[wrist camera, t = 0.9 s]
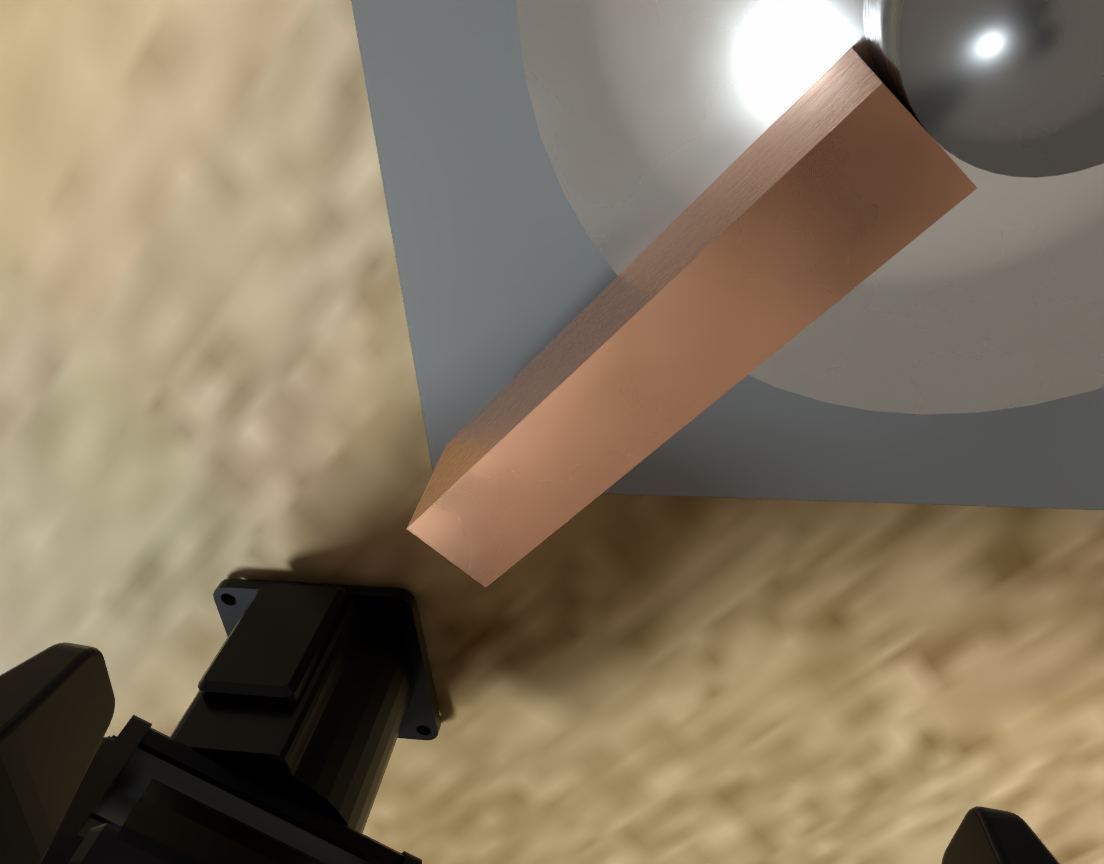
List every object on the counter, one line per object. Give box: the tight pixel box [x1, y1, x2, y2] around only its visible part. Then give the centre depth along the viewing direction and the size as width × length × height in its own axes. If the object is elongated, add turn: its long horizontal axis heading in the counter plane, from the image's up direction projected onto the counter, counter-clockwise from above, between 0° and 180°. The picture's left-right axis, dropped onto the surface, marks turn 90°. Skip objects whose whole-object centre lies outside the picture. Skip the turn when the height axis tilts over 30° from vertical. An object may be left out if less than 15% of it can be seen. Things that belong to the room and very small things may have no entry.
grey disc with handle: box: [407, 0, 1104, 587], centre depth 14 cm, size 20×15×5 cm
